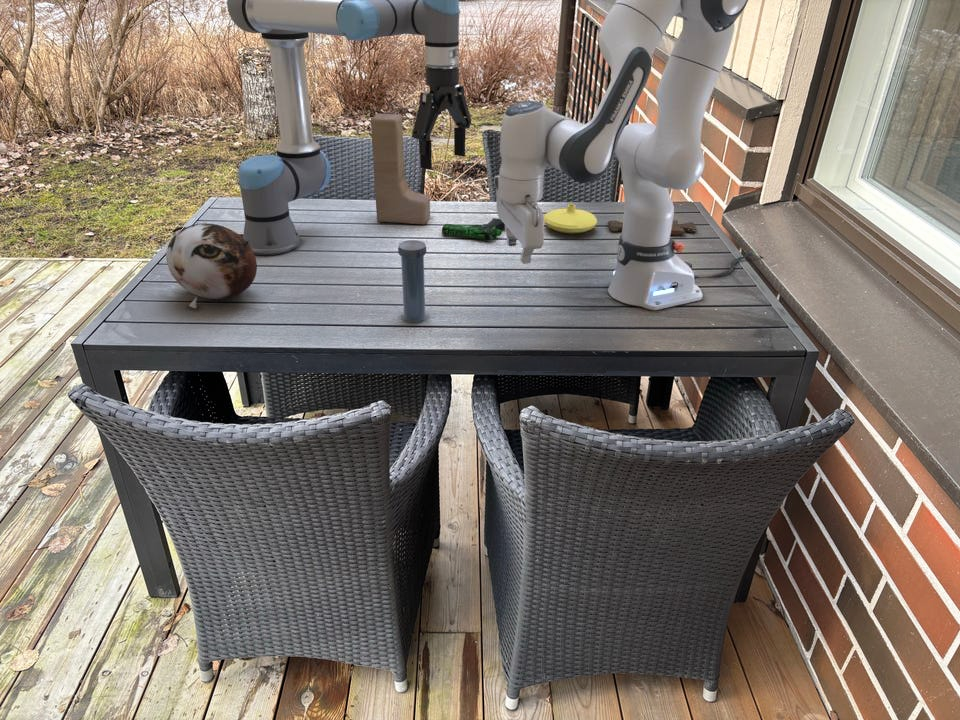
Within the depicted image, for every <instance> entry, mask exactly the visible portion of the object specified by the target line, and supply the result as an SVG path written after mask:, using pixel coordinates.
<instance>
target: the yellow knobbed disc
mask: <svg viewBox="0 0 960 720" xmlns="http://www.w3.org/2000/svg"><path fill="white" fill-rule="evenodd" d="M543 217H544V225H545V226H546V227H548V228H550V229H551V230H554V231H556V232H559V233H564V234H580V233H584V232H585V233H586V232H587V231H591V230H592V229H594V228H596V226H597V223H598V219H597V217H596V215H595V214H593V213H591V212H589V211H587V210H584V209H578V208H576V205H575V204H571V203H570V204H567V208H557V209H552V210H549V211H548V212H547V213H545V214H544V215H543Z"/></svg>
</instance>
